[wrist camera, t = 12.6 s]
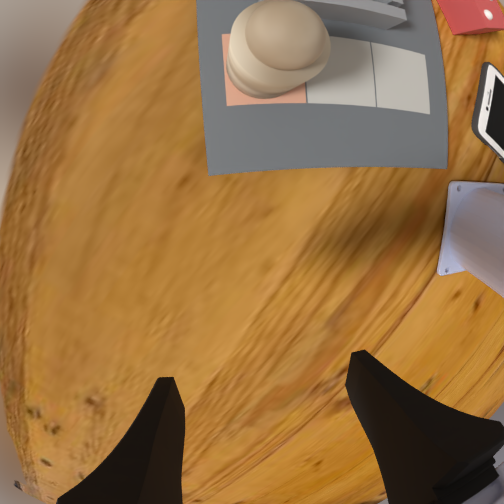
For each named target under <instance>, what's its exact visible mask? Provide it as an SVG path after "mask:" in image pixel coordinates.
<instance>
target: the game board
mask: <svg viewBox="0 0 504 504" xmlns="http://www.w3.org/2000/svg"><path fill="white" fill-rule="evenodd" d="M260 1H264V0H196V2H197V26H198V46H199V63H200V79H201V93H202V106H203V119H204V131H205V142H206V153H207V164H208V174H209V176H212V175H221V174H231V173H242V172H254V171H268V170H283V169H301V168H326V167H413V168H436V169H447V160H448V119H447V99H446V86H445V76H444V67H443V59H442V52H441V46H440V40H439V34H438V29H437V24H436V20H435V15H434V11H433V6H432V2H431V0H293V1H297V2H300V3H302V4H305V5H306V6H308V7H310V8H311V9H312V10H314V11H315V12H316V13H317V14H318V15H319V17H320V18H321V20H322V22H323V24H324V26H325V27H326V29H327V31H328V34H329V37H330V42H331V50H330V56H329V59H328V61H327V64H326V65H325V67H324V68H323V69H322V70H321V72H320V73H318V74H317V75H316V76H315V77H313V78H311V79H310V80H308V81H306V82H304V83H302V84H301V85H299V86H297V87H295V88H293V89H292V90H290V91H288V92H286V93H285V94H283V95H281V96H279V97H276V98H272V99H257V98H253V97H250V96H247V95H245V94H243V93H242V92H240V91H239V90H238V89H237V88H236V87H235V86H234V85H233V84H232V82H231V81H230V79H229V77H228V74H227V69H226V62H227V55H228V48H229V41H230V35H231V29H232V26H233V23H234V21H235V20H236V18H237V17H238V15H239V14H240V13H241V12H242V11H243V10H244V9H246V8H247V7H249V6H250V5H252V4H254V3H257V2H260Z"/></svg>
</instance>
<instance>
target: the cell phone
mask: <svg viewBox="0 0 504 504" xmlns="http://www.w3.org/2000/svg"><path fill="white" fill-rule="evenodd" d="M472 130H473V132H474V134H475V135H476V136H477V137H478V138H479V139H480V140H481V141H482V142H483V143H484V144H485V145H488V146H489V147H490V148H491V149H492V150H493V151H494V152H495V153H496V154H497V155H498V156H499V157H500V158H499V159H500V160H501V161H502V162H503V163H504V76H503V75H502V74H501V73H500V71H499V70H498V69H497V68H496V67H495V66H494V65H492V64H491V63H490V62H484V63H483V65H482V69H481V75H480V81H479V87H478V93H477V98H476V103H475V108H474V112H473V117H472Z"/></svg>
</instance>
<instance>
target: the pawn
mask: <svg viewBox="0 0 504 504" xmlns="http://www.w3.org/2000/svg"><path fill="white" fill-rule="evenodd" d="M330 50H331V42H330V37H329V34H328V31H327V29H326V27H325V26H324V24H323V22H322V20H321V18H320V17H319V15H318V14H317V13H316V12H315V11H314V10H312V9H311V8H310V7H308V6H306V5H305V4H302V3H300V2H297V1H293V0H264V1H260V2H257V3H254V4H252V5H250V6H249V7H247V8H246V9H244V10H243V11H242V12H241V13H240V14H239V15H238V17H237V18H236V20H235V21H234V23H233V26H232V29H231V35H230V41H229V48H228V55H227V62H226V69H227V74H228V77H229V79H230V81H231V82H232V84H233V85H234V86H235V87H236V88H237V89H238V90H239V91H240V92H242V93H243V94H245V95H247V96H250V97H253V98H257V99H272V98H276V97H279V96H281V95H283V94H285V93H286V92H288V91H290V90H292V89H293V88H295V87H297V86H299V85H301V84H302V83H304V82H306V81H308V80H310V79H311V78H313V77H315V76H316V75H317V74H318V73H320V72H321V70H322V69H323V68H324V67H325V65H326V64H327V61H328V59H329V56H330Z"/></svg>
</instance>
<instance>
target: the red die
mask: <svg viewBox="0 0 504 504" xmlns="http://www.w3.org/2000/svg"><path fill="white" fill-rule="evenodd" d="M437 2H438V4H439V6H440V8H441V10H442V12H443V14H444V16H445V18H446V20H447V22H448V24H449V26H450V29H451V31H452V33H453V35H460V34H482V33H487V32H493V31H500V30H504V15H503V13H502V11H501V9H500V7H499V4H498V2H497V0H437Z"/></svg>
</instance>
